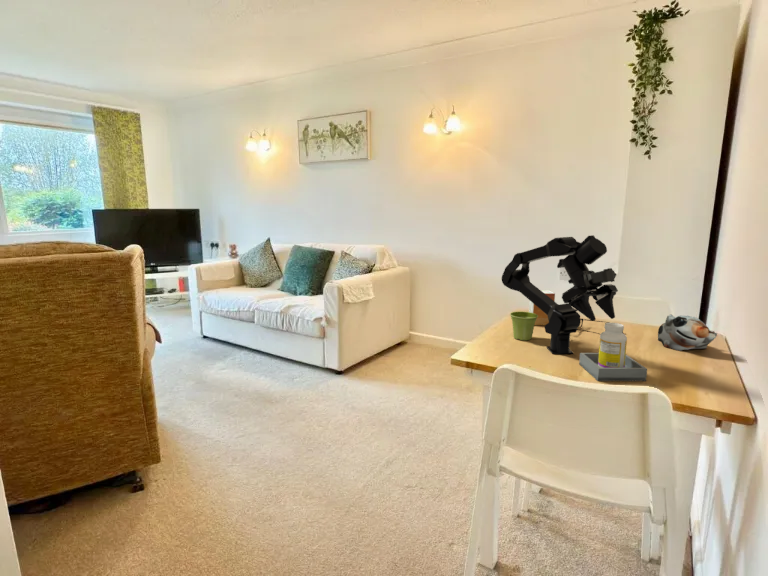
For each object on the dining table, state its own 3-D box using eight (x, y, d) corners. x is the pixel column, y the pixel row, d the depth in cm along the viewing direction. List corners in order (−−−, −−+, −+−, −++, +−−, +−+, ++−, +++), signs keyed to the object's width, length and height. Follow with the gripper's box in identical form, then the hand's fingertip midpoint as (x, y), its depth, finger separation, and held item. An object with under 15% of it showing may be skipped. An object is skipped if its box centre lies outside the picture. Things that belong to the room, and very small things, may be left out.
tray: (579, 364, 129) (580, 352, 128) (622, 364, 128) (623, 352, 127) (597, 381, 116) (598, 368, 116) (646, 381, 116) (647, 368, 115)
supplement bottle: (610, 363, 126) (613, 320, 124) (629, 370, 120) (634, 326, 118) (592, 366, 124) (595, 322, 122) (611, 374, 118) (615, 329, 116)
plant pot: (530, 334, 159) (532, 311, 158) (540, 341, 150) (542, 317, 148) (505, 334, 159) (506, 311, 157) (514, 342, 150) (515, 318, 148)
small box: (532, 325, 170) (533, 293, 167) (528, 321, 176) (529, 290, 173) (553, 325, 169) (555, 293, 167) (548, 321, 175) (550, 290, 173)
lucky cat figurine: (712, 346, 142) (728, 315, 134) (698, 367, 137) (715, 337, 128) (662, 325, 151) (675, 295, 143) (648, 345, 146) (660, 315, 137)
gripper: (579, 258, 120) (607, 308, 113) (619, 258, 129) (646, 304, 123) (550, 278, 128) (575, 326, 122) (589, 277, 138) (614, 321, 131)
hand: (603, 319), depth 124 cm, fingers open, 9 cm apart
